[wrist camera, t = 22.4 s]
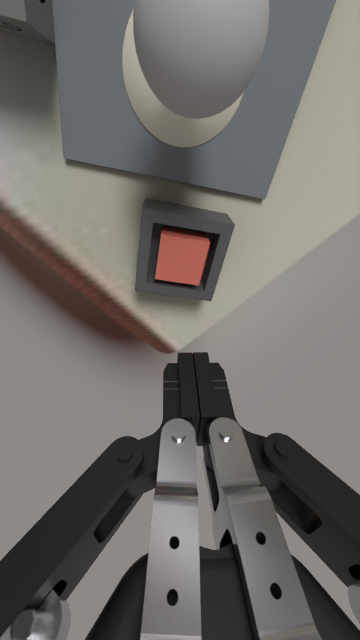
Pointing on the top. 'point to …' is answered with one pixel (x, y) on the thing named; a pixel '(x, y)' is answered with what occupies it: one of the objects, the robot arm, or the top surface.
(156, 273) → the button
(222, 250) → the button box
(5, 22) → the dice cube
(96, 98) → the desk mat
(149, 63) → the lightbulb
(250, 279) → the top surface
